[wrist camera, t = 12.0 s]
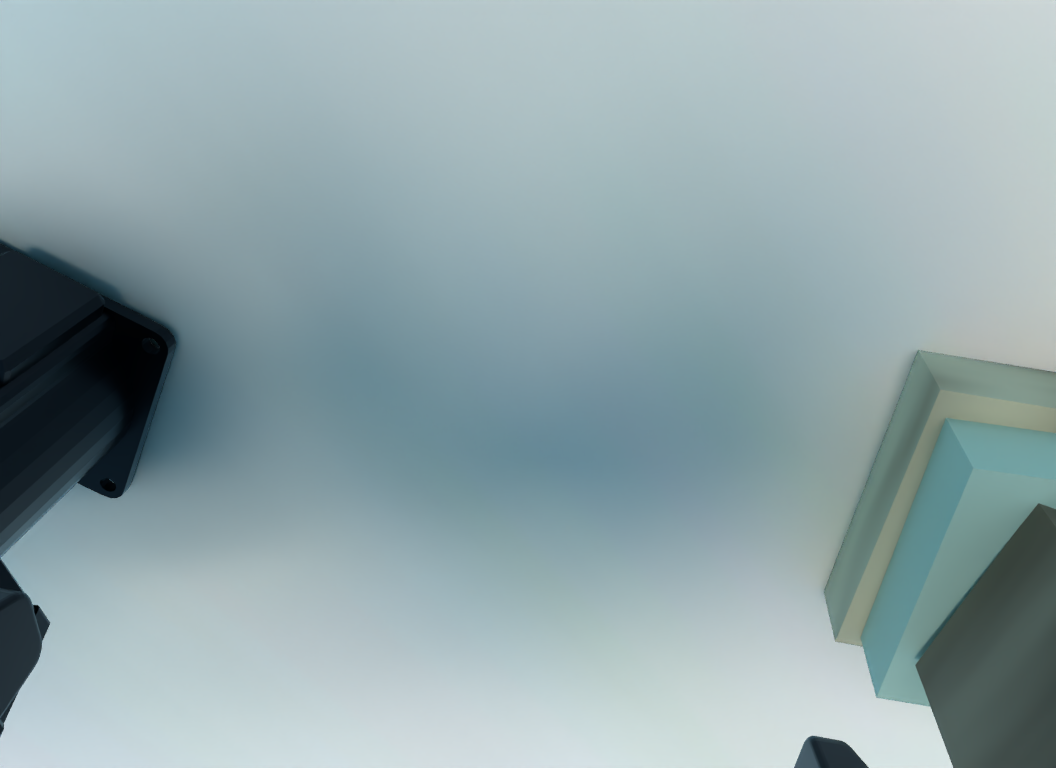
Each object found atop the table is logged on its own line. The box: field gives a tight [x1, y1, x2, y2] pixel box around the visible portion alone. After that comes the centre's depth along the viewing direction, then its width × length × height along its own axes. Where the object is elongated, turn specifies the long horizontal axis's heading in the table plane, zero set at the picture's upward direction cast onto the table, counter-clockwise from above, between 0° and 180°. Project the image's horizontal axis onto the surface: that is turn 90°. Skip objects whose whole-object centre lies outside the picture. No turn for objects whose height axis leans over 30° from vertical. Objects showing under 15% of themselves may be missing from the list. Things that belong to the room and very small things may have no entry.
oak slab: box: [824, 350, 1056, 647], centre depth 22 cm, size 8×8×2 cm
